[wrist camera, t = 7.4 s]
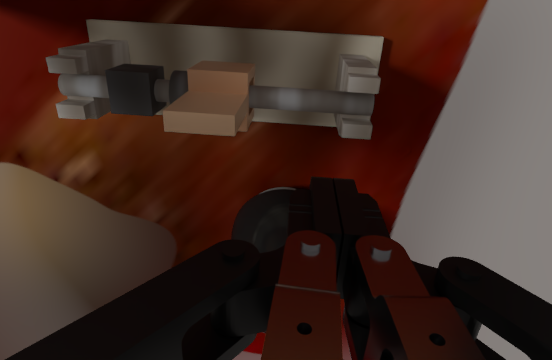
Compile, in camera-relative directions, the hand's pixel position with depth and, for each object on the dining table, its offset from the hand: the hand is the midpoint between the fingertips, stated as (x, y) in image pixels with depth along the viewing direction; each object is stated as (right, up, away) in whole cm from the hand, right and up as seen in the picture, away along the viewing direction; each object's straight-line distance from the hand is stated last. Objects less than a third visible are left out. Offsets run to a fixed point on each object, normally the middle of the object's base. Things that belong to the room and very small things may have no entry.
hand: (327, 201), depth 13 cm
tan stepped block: (-5, +8, +15) cm, 18 cm away
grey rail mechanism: (-6, +10, +21) cm, 24 cm away
